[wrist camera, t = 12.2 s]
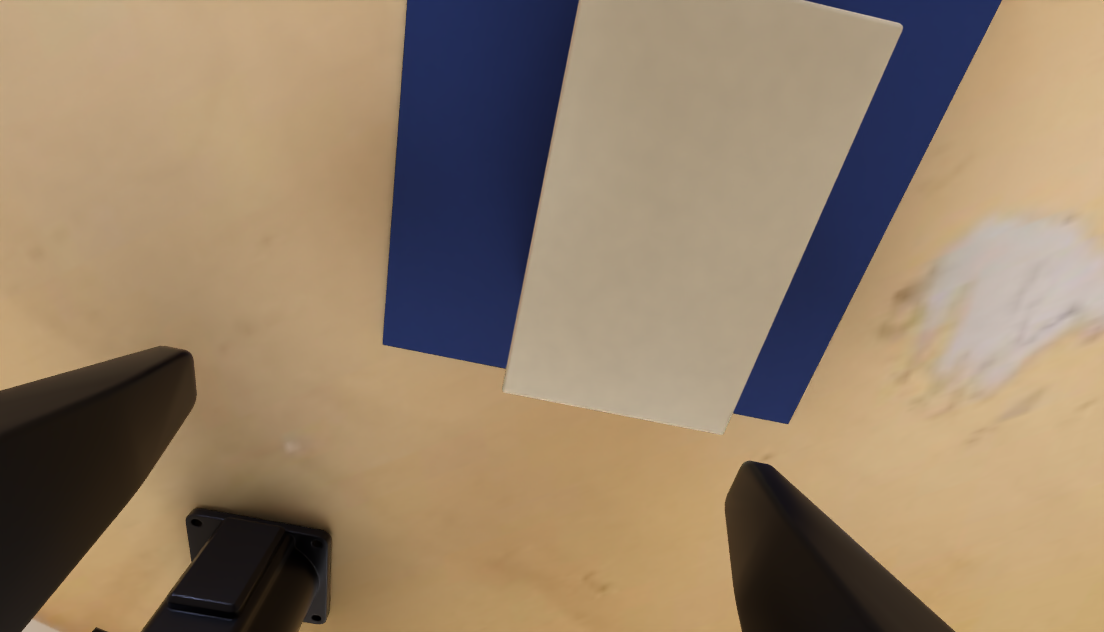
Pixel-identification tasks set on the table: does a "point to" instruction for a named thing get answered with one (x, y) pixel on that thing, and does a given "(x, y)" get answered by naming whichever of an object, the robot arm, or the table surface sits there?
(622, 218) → the box
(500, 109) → the blue cloth
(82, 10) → the table surface
